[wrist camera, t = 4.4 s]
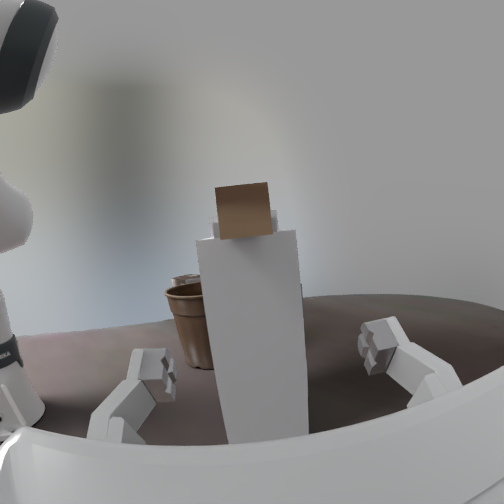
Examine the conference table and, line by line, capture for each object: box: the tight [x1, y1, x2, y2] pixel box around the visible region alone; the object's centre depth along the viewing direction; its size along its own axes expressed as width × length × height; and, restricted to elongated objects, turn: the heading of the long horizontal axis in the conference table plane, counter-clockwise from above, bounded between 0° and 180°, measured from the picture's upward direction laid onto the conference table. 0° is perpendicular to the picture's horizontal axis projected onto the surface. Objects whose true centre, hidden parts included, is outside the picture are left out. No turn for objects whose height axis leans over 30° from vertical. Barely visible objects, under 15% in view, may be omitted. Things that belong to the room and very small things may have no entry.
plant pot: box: [165, 281, 214, 369], centre depth 62 cm, size 16×16×16 cm
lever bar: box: [215, 182, 273, 240], centre depth 32 cm, size 24×4×4 cm, turn 2°
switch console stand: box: [196, 210, 309, 444], centre depth 39 cm, size 16×10×29 cm
